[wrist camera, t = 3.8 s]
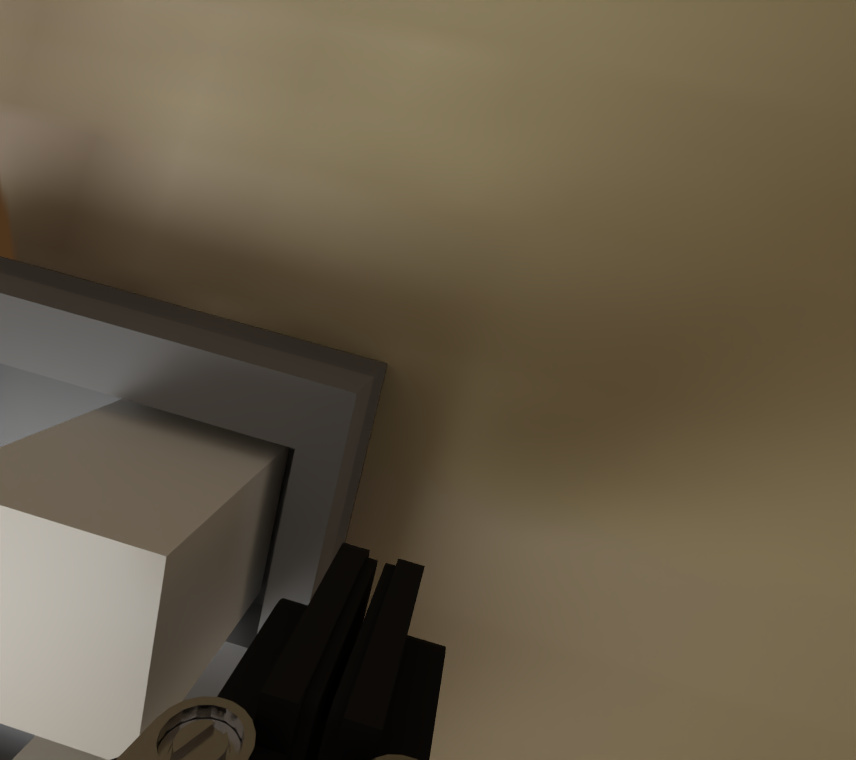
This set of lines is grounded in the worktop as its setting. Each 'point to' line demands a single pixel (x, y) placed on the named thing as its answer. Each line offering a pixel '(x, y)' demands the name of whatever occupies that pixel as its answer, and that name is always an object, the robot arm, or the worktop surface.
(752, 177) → the worktop surface
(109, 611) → the light grey block
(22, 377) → the switch bank
